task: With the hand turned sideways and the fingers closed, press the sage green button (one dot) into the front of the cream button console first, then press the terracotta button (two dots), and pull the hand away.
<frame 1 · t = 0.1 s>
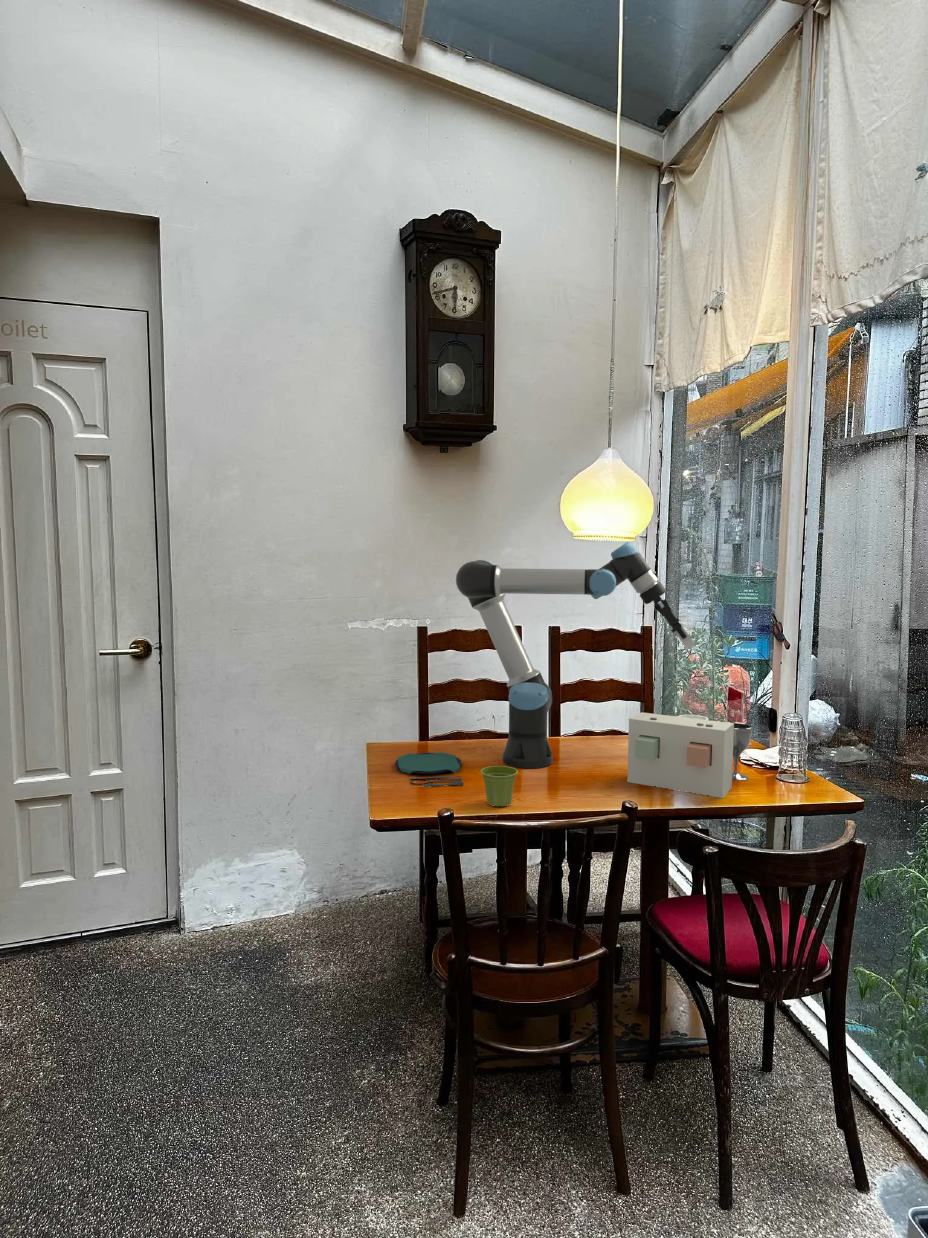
hand: (689, 644, 239), 36 cm above the table, tool tilted 35°, fingers open, 13 cm apart
foam cup: (691, 759, 242), on the table
terracotta button: (699, 754, 205), point 11 cm above the table, slide at 0.0 cm
wine glass: (735, 777, 223), on the table
sage button: (648, 747, 213), point 11 cm above the table, slide at 0.0 cm
plant pot: (499, 804, 199), on the table
console: (678, 785, 215), on the table
cutlery set: (429, 774, 227), on the table
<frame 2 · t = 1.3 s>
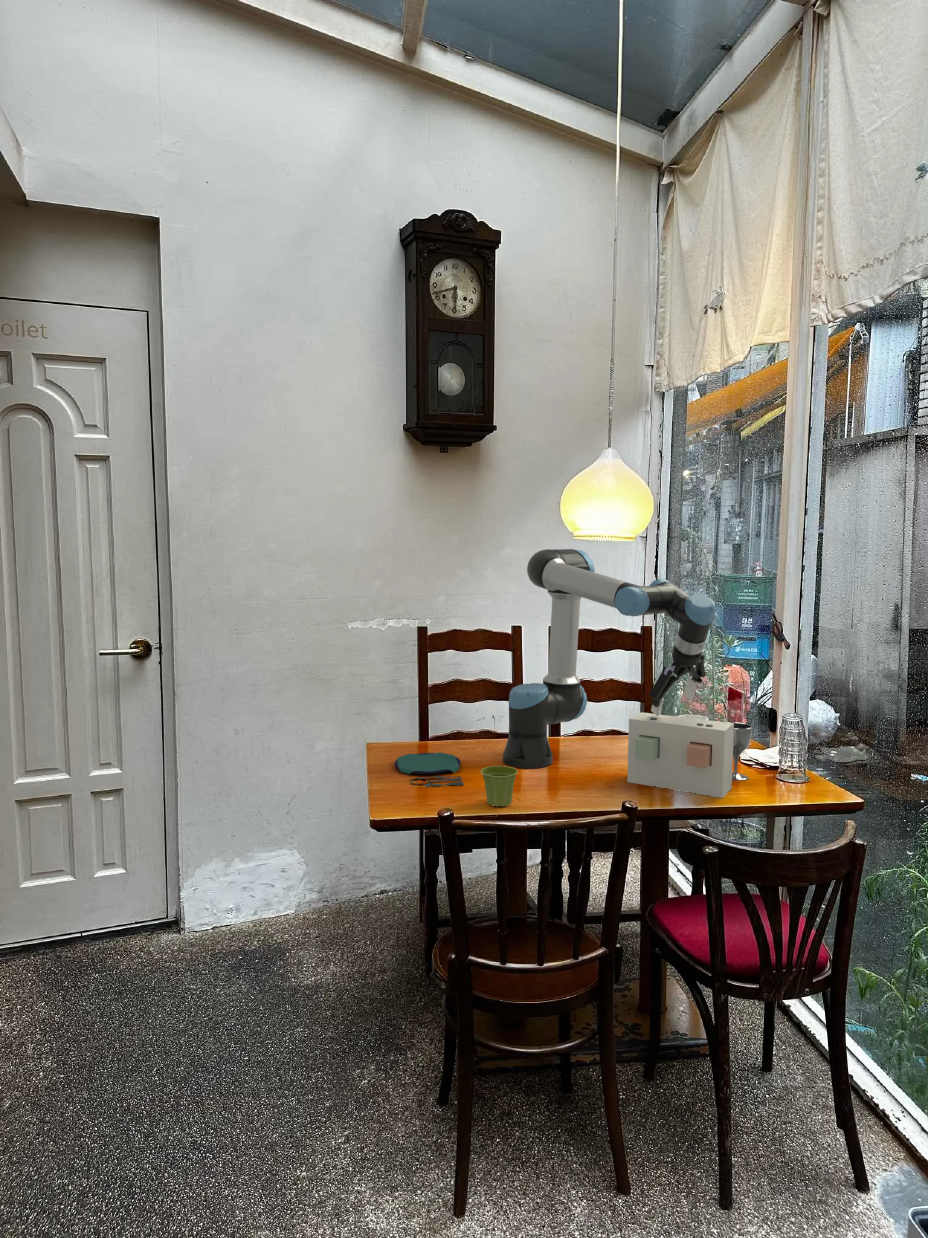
hand: (671, 704, 222), 21 cm above the table, tool tilted 35°, fingers open, 12 cm apart
nothing on the table moved.
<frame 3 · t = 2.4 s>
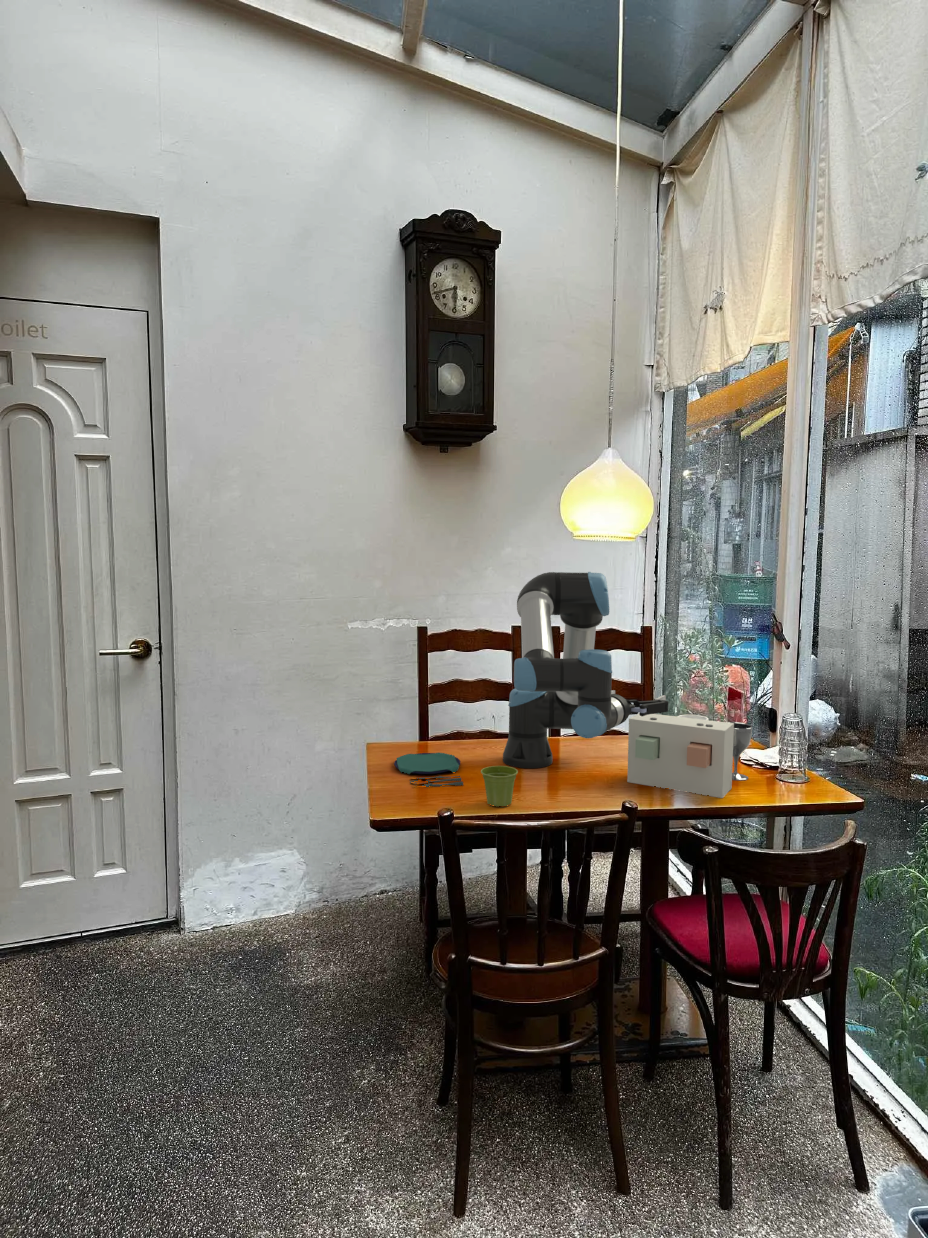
hand: (638, 697, 204), 26 cm above the table, tool horizontal, fingers open, 13 cm apart
nothing on the table moved.
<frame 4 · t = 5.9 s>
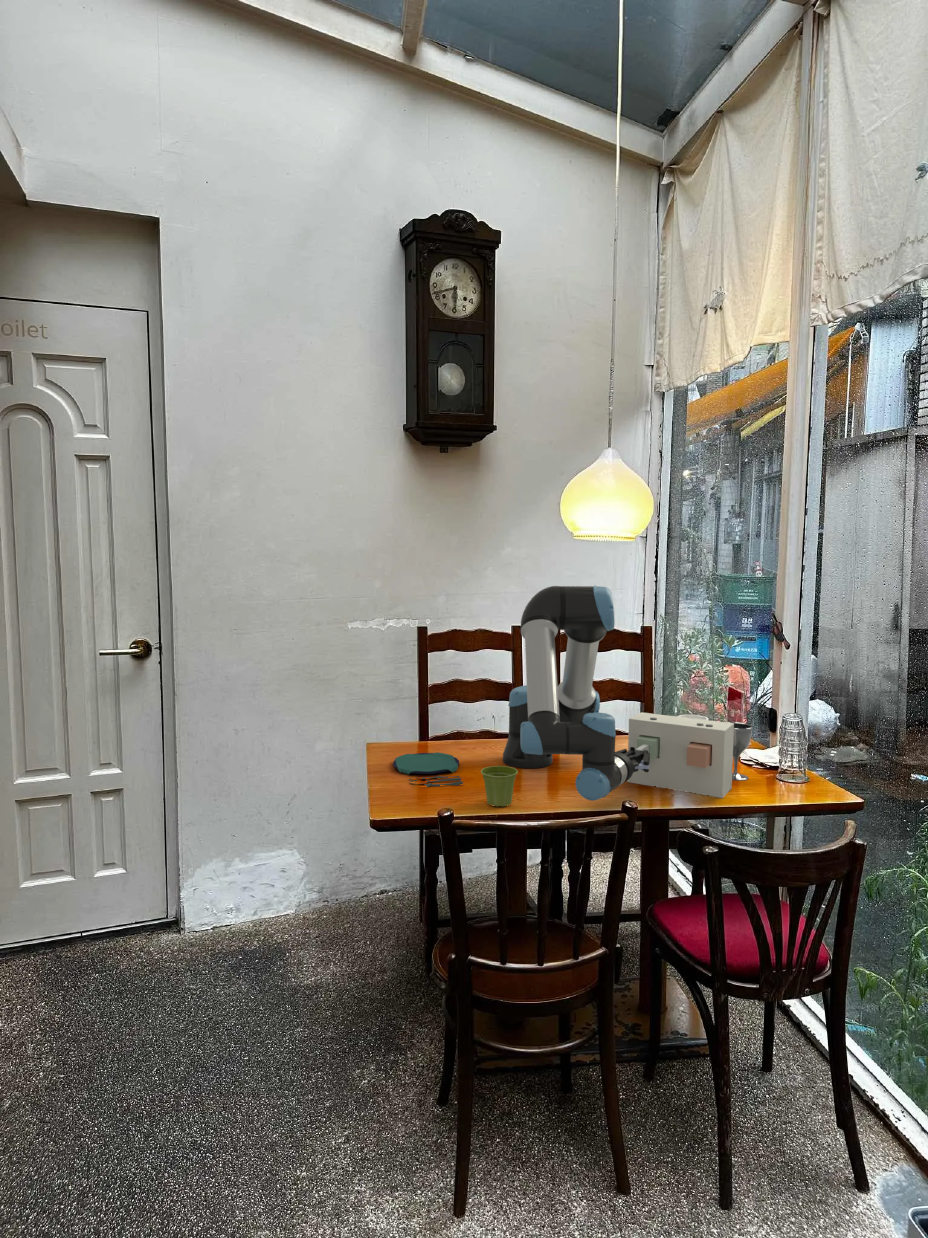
hand: (646, 749, 211), 11 cm above the table, tool horizontal, fingers closed
sage button: (649, 746, 214), point 11 cm above the table, slide at 1.1 cm, touching gripper
everything else where it was.
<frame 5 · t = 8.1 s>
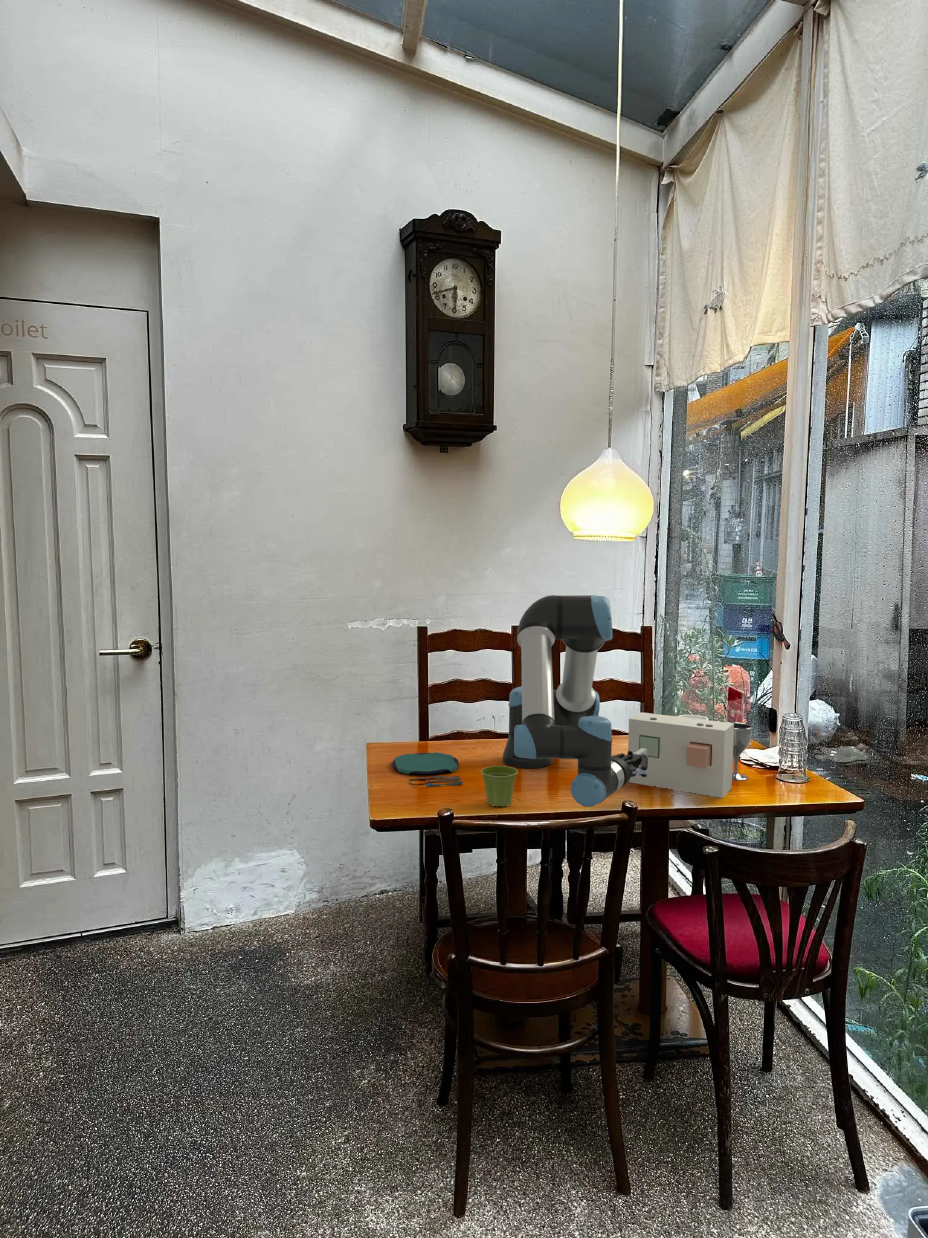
hand: (644, 753, 205), 11 cm above the table, tool horizontal, fingers closed
sage button: (652, 744, 216), point 11 cm above the table, slide at 3.6 cm
everything else where it was.
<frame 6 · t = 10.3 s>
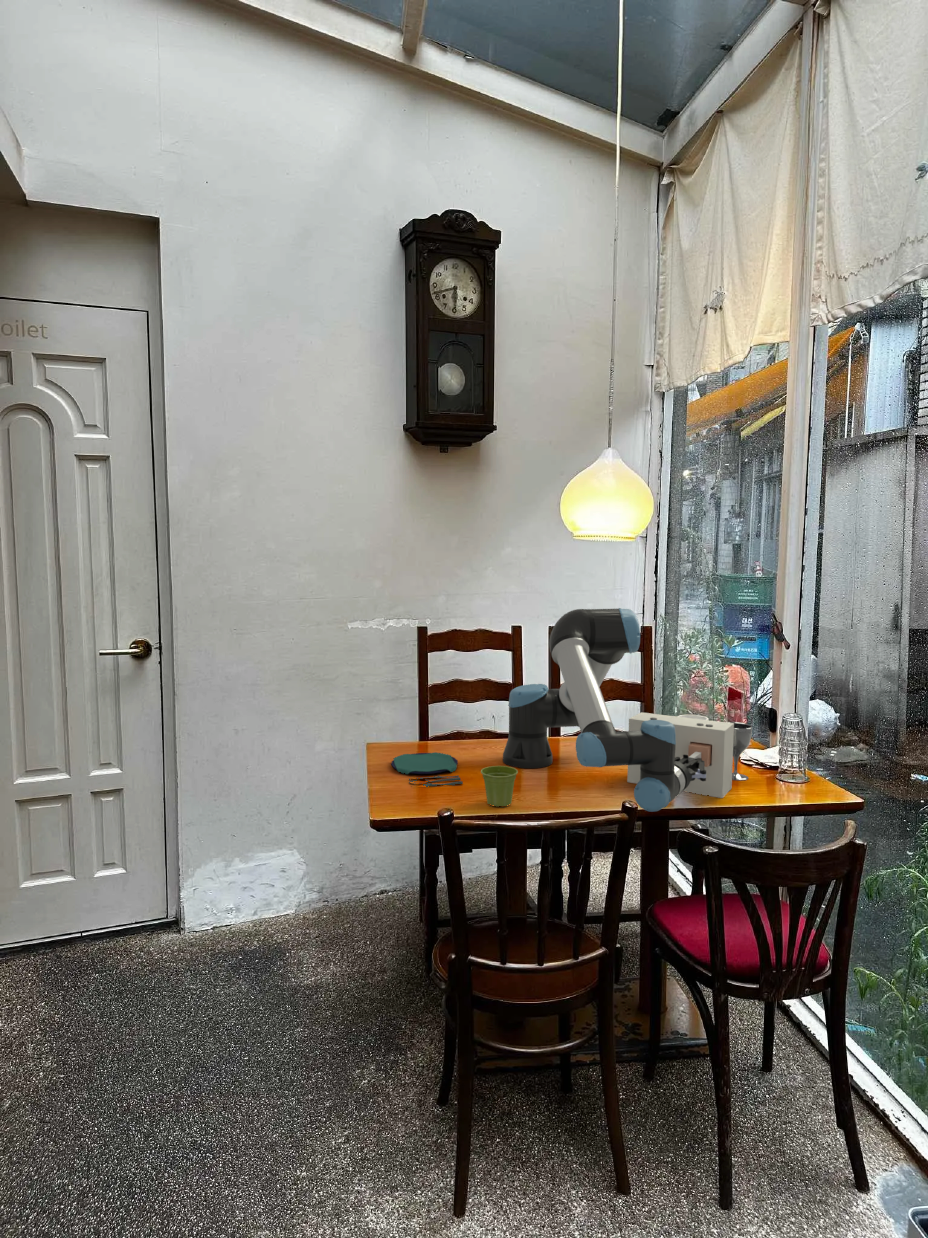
hand: (698, 757, 204), 11 cm above the table, tool horizontal, fingers closed
terracotta button: (701, 753, 207), point 11 cm above the table, slide at 1.3 cm, touching gripper
everything else where it was.
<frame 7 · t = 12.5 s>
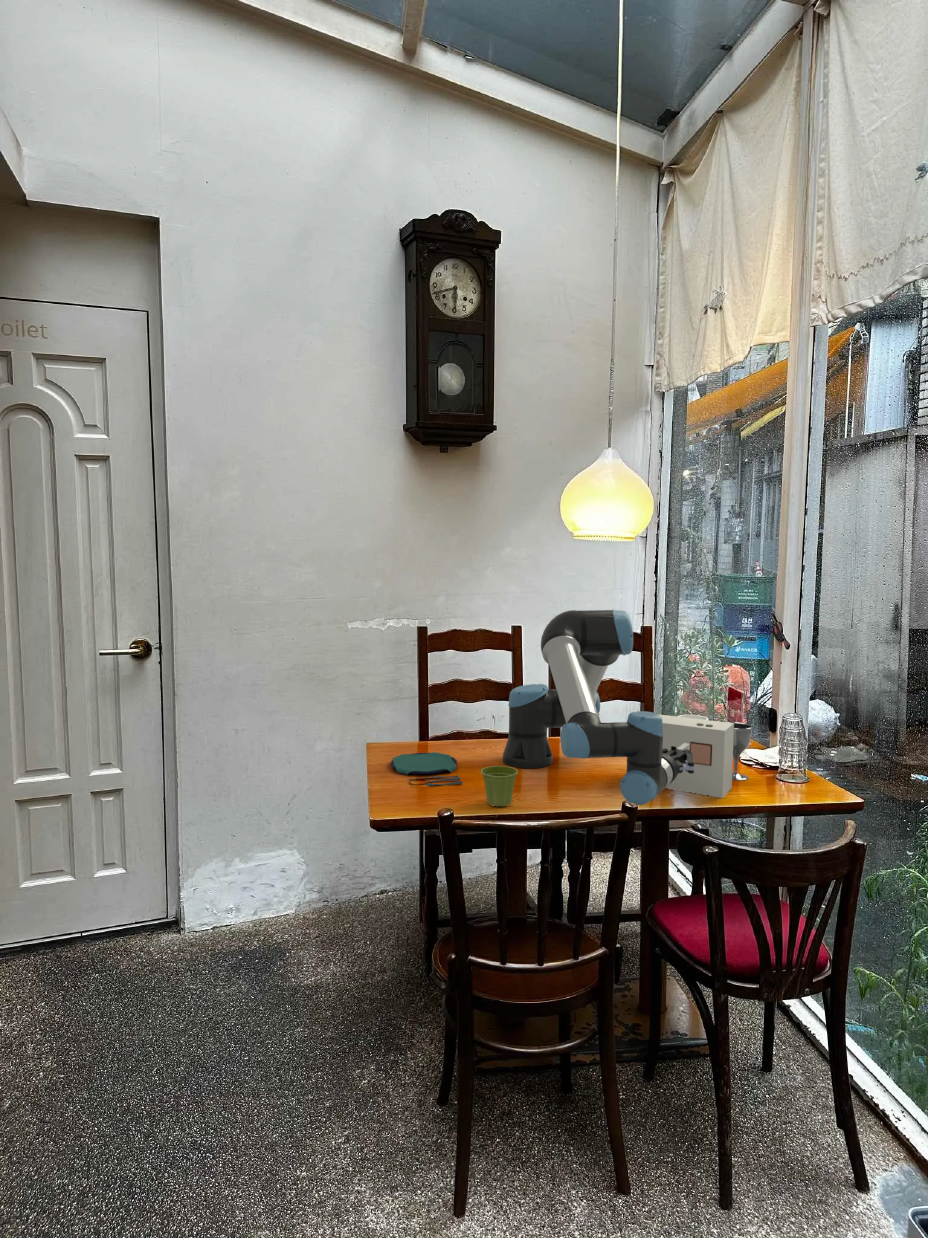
hand: (686, 748, 200), 14 cm above the table, tool horizontal, fingers closed
terracotta button: (703, 751, 209), point 11 cm above the table, slide at 3.6 cm
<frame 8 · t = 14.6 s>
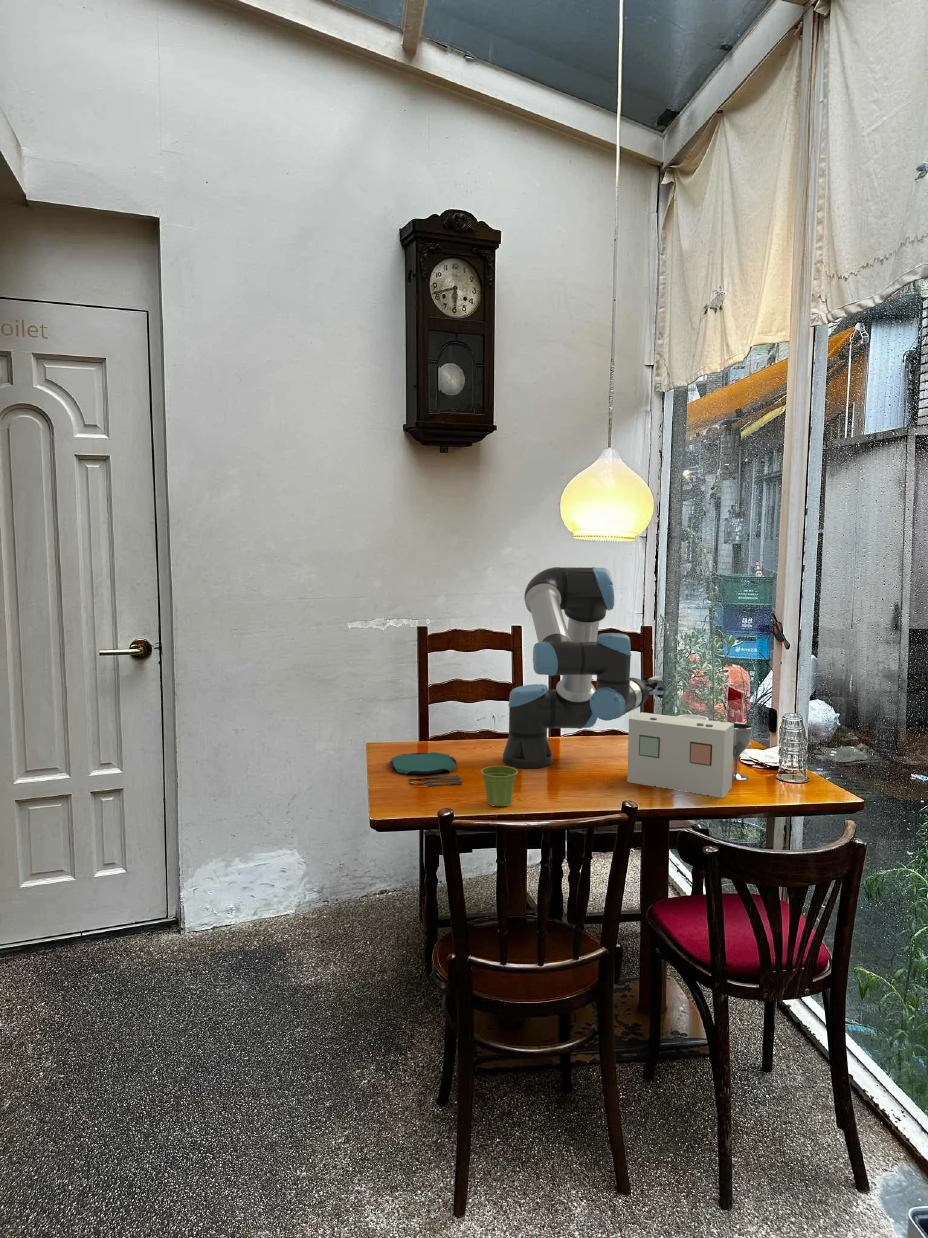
hand: (658, 680, 208), 30 cm above the table, tool horizontal, fingers closed
at the end: sage button slide at 3.6 cm; terracotta button slide at 3.6 cm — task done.
